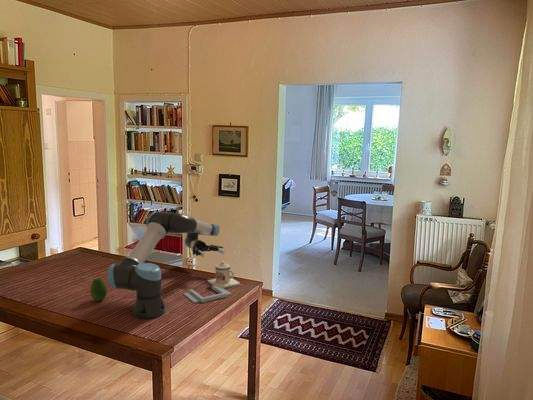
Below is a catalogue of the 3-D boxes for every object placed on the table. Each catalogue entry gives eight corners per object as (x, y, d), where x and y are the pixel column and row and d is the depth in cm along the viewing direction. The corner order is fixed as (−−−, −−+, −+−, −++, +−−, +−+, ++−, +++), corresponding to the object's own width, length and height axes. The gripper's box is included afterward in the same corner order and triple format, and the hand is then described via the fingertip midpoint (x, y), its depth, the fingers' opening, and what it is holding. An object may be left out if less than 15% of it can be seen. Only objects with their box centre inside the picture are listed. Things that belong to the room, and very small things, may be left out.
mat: (219, 289, 227) (219, 287, 227) (207, 281, 239) (207, 280, 238) (240, 284, 235) (240, 282, 235) (228, 277, 247) (228, 276, 246)
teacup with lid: (212, 281, 236) (212, 262, 234) (220, 277, 244) (220, 258, 242) (229, 285, 230) (229, 265, 229) (237, 280, 238) (237, 261, 237)
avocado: (91, 298, 211) (90, 276, 209) (107, 296, 214) (106, 275, 212) (90, 304, 204) (89, 281, 202) (107, 302, 206) (106, 280, 204)
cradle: (195, 304, 206) (195, 300, 206) (183, 294, 218) (183, 291, 218) (232, 295, 219) (232, 291, 218) (219, 286, 231) (219, 283, 231)
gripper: (215, 249, 268) (231, 256, 250) (180, 254, 254) (194, 262, 236) (216, 238, 267) (231, 245, 249) (180, 242, 253) (194, 250, 235)
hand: (213, 253), depth 243 cm, fingers open, 13 cm apart
